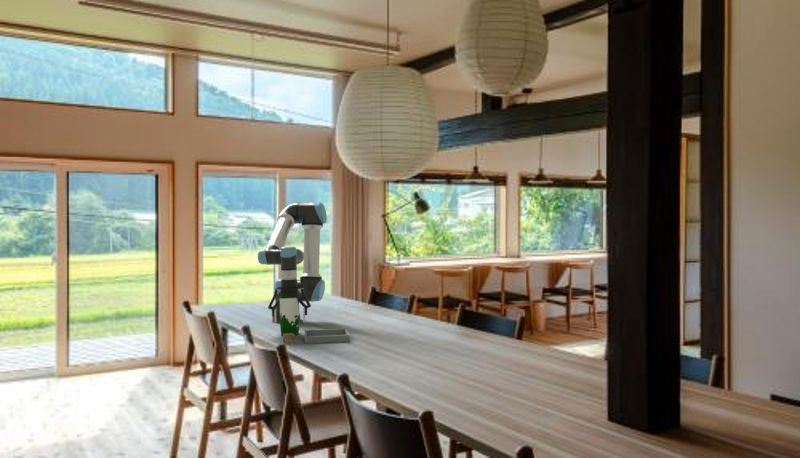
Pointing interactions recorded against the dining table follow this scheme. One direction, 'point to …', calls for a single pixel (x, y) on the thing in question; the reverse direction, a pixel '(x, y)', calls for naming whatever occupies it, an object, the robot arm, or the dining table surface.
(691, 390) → the dining table surface
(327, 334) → the tray
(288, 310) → the soya milk
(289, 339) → the walnut block
